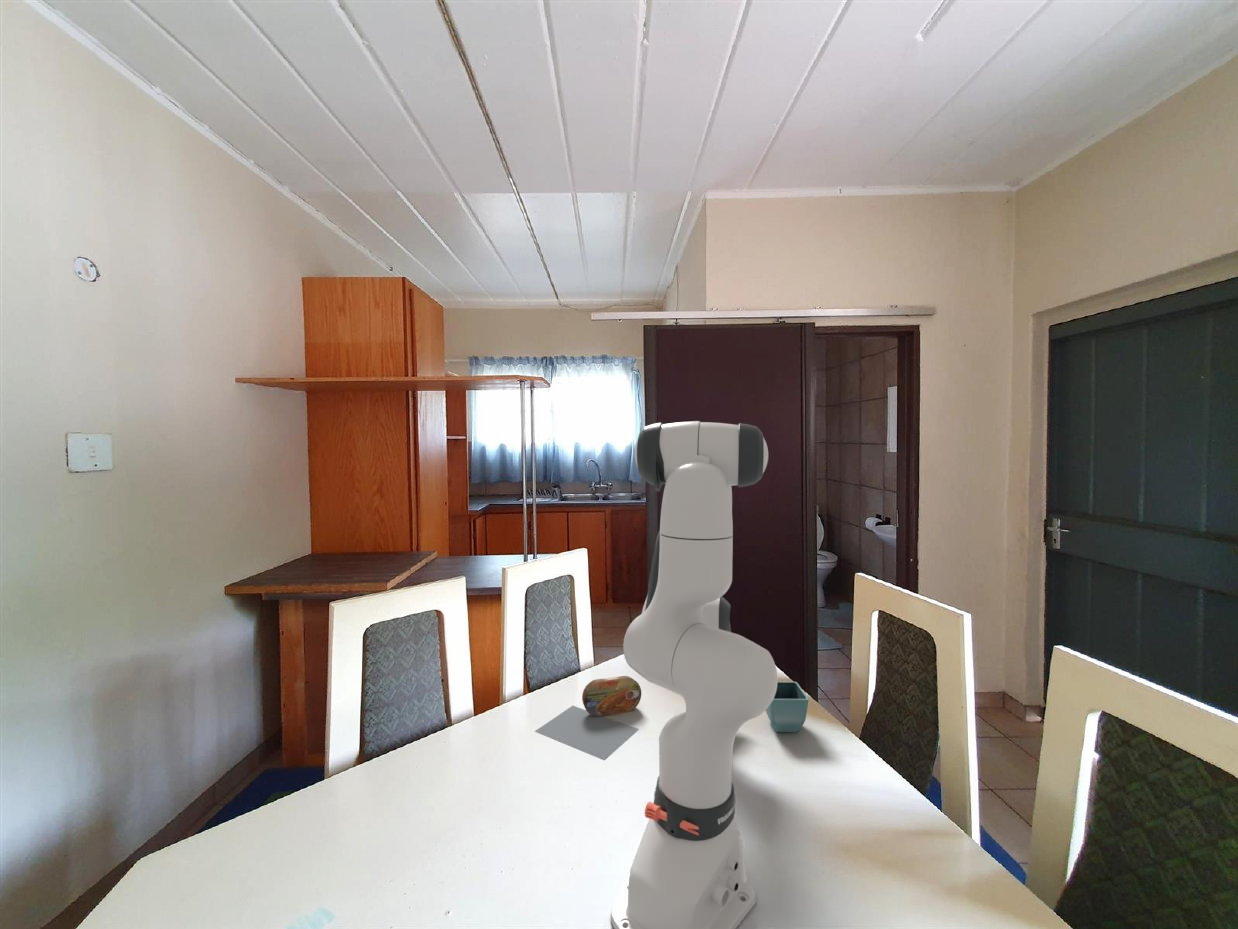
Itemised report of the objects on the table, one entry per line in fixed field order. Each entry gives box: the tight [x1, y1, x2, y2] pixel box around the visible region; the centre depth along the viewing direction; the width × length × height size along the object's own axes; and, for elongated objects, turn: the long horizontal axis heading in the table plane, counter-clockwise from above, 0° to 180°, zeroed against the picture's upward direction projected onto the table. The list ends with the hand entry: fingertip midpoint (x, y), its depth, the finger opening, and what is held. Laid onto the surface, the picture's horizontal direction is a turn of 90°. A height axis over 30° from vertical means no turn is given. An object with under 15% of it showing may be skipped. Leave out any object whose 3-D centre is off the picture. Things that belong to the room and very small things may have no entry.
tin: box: [581, 675, 642, 717], centre depth 125 cm, size 15×3×8 cm, turn 108°
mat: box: [534, 705, 640, 761], centre depth 117 cm, size 14×20×1 cm
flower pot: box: [765, 681, 810, 733], centre depth 118 cm, size 9×9×9 cm
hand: (703, 700), depth 113 cm, fingers closed on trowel, 3 cm apart
